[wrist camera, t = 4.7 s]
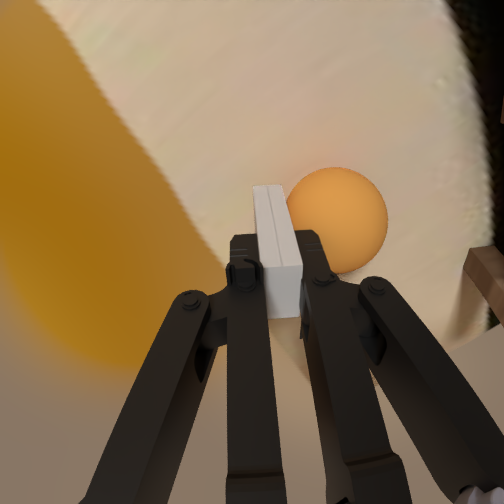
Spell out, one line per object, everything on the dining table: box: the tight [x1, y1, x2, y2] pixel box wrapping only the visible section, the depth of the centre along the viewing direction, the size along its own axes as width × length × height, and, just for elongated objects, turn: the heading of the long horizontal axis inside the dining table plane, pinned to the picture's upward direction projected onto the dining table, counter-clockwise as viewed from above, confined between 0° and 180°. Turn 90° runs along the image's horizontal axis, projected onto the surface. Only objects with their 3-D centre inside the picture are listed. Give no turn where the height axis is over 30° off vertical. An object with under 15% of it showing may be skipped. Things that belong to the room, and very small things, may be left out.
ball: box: [286, 167, 388, 273], centre depth 17 cm, size 6×6×6 cm
